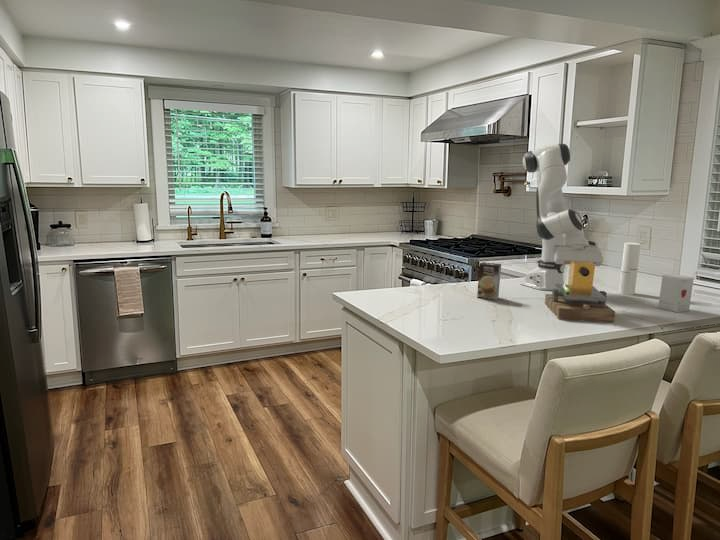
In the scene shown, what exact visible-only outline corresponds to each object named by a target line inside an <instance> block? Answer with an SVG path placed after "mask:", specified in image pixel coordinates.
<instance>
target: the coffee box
mask: <svg viewBox="0 0 720 540" xmlns="http://www.w3.org/2000/svg"><path fill="white" fill-rule="evenodd" d="M478 267H479V268H478V281H477V282H478V283H477V293H476V298H477V297H481V298H480V299H484V298H488V299H487V300H491V299H496V300H498V299H499V293H500V292H499V291H500V283H501V273H502V272H501V271H502V264H501V263H494V262H485V261H482V262H480V263H479V266H478Z"/></svg>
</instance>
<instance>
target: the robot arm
mask: <svg viewBox="0 0 720 540" xmlns="http://www.w3.org/2000/svg"><path fill="white" fill-rule="evenodd" d="M571 153H572V152H571V150H570V148H569V146H568V145H567V144H566V143H558V144H553V145H547V146H543V147H540V148H537V149H534V150H529V151H527V152H525V153H524V155H523V157H522V165H523V168H524V169H525V171H526V172H527V173H532V174H533V173H535V174H536V176H535V177H536V186H537V188H536V189H535V191H536V192H535V200H536V203H535V204H536V206H535V208H536V225H535V227H536V228H535V229H536V233H537V235H538V237H539V238H540V239H542V240H541V242H542V243H541V244H542V247H541V259H539V260H536V262H535V263H536V264H537V266H535V267H534V268H533V269H531V270H530V271H528V272H527V273H526V274H525V278H524V280H523V281H520V284H519V285H521V286H525V287H528V288H532V289H535V290H539V291H553V289H555V287H554V286H555V284H564V285H565V281H564V280H565V279H564V277H565V276H564V273H565V268H566V266H567V265H568V266H569V265H570V264H571V261H591V262H592V263H594V264H595V267H600V266H601V265H602V264H603V263H604V257H603V253H602V252H601V249H600V248H599V244H598V242H595V241H592V240H589V239H586V237H585V235H584V233H585V232H584V227H583V225H584V224H583V220H582V217H581V215H580V214H579V213H578V212H577V211H576V210H574V209H570V208H569V209H568V207H567V203H566V201H565V198H564V194H563V189H562V188H563V187H564V185H565V184H566V182H567V179H568V174H567V170H566V165H568V164H569V162H570V161H571V155H572V154H571Z"/></svg>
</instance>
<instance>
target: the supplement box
mask: <svg viewBox="0 0 720 540" xmlns="http://www.w3.org/2000/svg"><path fill="white" fill-rule="evenodd" d="M694 279H695V277H694V276H693V277H692V276H686V275H683V274H678V273H677V274H676V273H673V274H662V278H661V285H660V291H659V298H658V304H657V305H658V306H657V308H658V309H662V310H667V311H670V312H674V313H680V312H688V311H689V312H690V308H691V307H690V305H691V299H692V292H693V286H694Z"/></svg>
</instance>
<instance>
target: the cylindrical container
mask: <svg viewBox="0 0 720 540" xmlns="http://www.w3.org/2000/svg"><path fill="white" fill-rule="evenodd" d="M623 245H624V246H623V252H622V253H623V254H622V260H621V269H620V278H619V286H618V294H621V293H622V295H626V294H628V295H629V296H634V295H636V294H635V292H636V285H637V278H638V276H637V275H638V268H639V259H640V253H641V245H642V244H641V243H638V242H624V243H623ZM633 294H634V295H633Z"/></svg>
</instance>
